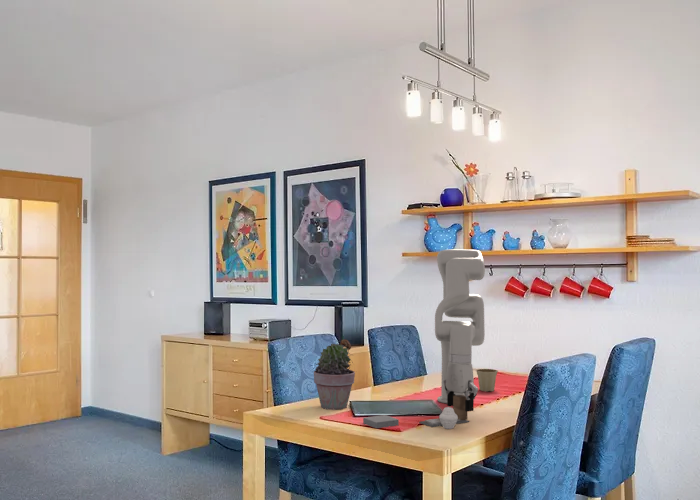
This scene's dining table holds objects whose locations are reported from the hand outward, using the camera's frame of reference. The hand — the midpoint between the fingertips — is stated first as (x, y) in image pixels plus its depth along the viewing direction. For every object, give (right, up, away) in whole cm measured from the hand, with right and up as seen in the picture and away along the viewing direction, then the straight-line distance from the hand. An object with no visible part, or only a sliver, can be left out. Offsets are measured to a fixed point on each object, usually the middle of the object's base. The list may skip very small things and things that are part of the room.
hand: (460, 408), depth 239 cm
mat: (-6, -4, -4) cm, 8 cm away
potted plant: (-45, -4, +19) cm, 49 cm away
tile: (-24, -3, -5) cm, 25 cm away
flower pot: (+21, -6, +57) cm, 61 cm away
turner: (-5, -4, -3) cm, 7 cm away
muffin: (-6, -4, -11) cm, 13 cm away
